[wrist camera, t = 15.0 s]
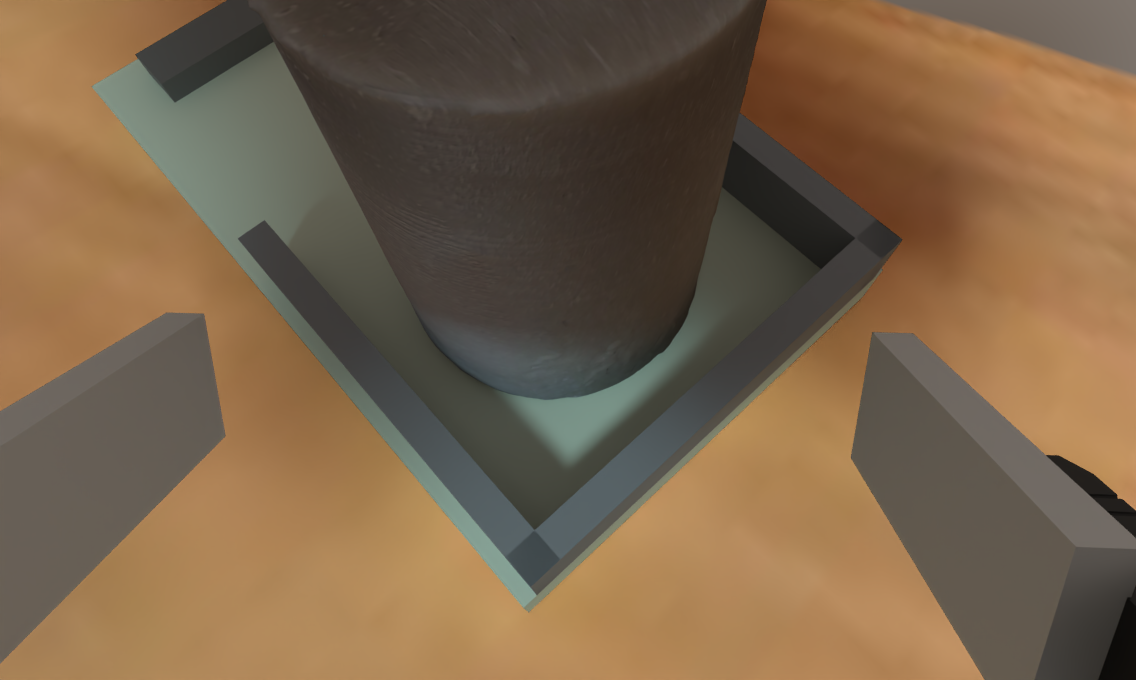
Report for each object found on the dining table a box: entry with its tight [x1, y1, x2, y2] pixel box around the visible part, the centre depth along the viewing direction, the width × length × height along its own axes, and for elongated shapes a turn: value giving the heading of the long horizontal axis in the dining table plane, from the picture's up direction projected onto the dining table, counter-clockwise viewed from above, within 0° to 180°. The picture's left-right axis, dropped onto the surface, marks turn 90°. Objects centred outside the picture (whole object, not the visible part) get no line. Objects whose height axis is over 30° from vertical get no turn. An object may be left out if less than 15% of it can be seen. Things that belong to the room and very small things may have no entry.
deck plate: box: [92, 0, 902, 612], centre depth 27 cm, size 26×16×4 cm, turn 42°
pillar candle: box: [247, 0, 767, 400], centre depth 18 cm, size 10×10×15 cm
